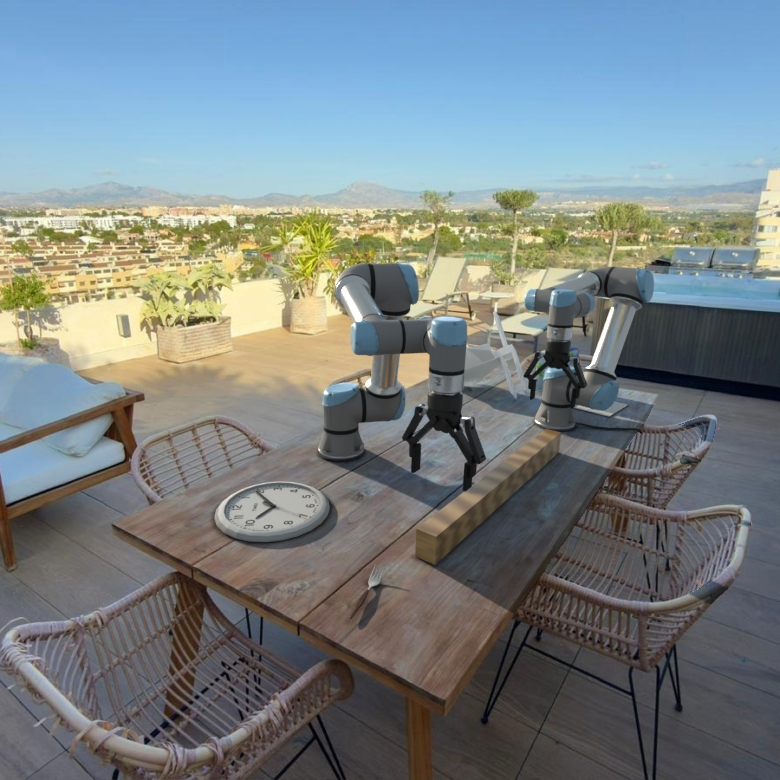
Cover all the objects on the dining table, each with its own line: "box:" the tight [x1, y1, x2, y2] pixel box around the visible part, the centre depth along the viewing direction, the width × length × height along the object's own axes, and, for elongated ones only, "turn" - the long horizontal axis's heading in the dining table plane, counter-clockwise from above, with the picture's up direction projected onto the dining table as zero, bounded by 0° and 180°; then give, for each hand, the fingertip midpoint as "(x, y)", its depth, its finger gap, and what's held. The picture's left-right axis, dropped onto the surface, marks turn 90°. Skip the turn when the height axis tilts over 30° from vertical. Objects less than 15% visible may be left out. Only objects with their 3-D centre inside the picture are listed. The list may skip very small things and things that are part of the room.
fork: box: [349, 563, 386, 620], centre depth 108 cm, size 3×16×2 cm, turn 160°
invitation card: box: [573, 401, 629, 418], centre depth 226 cm, size 21×1×15 cm
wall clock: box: [213, 481, 331, 543], centre depth 139 cm, size 30×2×30 cm
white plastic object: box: [464, 310, 530, 400], centre depth 245 cm, size 37×45×31 cm
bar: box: [414, 429, 562, 566], centre depth 149 cm, size 80×5×7 cm, turn 143°
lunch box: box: [534, 346, 580, 393], centre depth 245 cm, size 26×11×21 cm, turn 135°
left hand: (440, 479), depth 118 cm, fingers open, 13 cm apart
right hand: (551, 403), depth 171 cm, fingers open, 13 cm apart
